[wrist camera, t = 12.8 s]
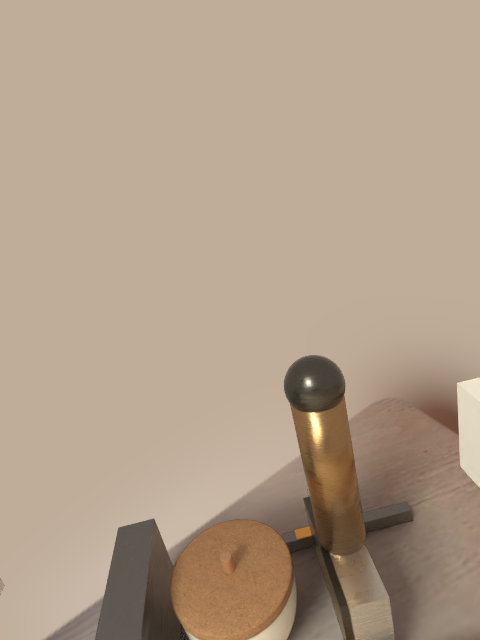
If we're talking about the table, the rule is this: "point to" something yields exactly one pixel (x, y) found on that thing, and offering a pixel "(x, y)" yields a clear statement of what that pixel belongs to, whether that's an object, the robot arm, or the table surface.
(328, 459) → the gold upright rod
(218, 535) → the lidded jar
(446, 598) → the table surface
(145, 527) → the bench
